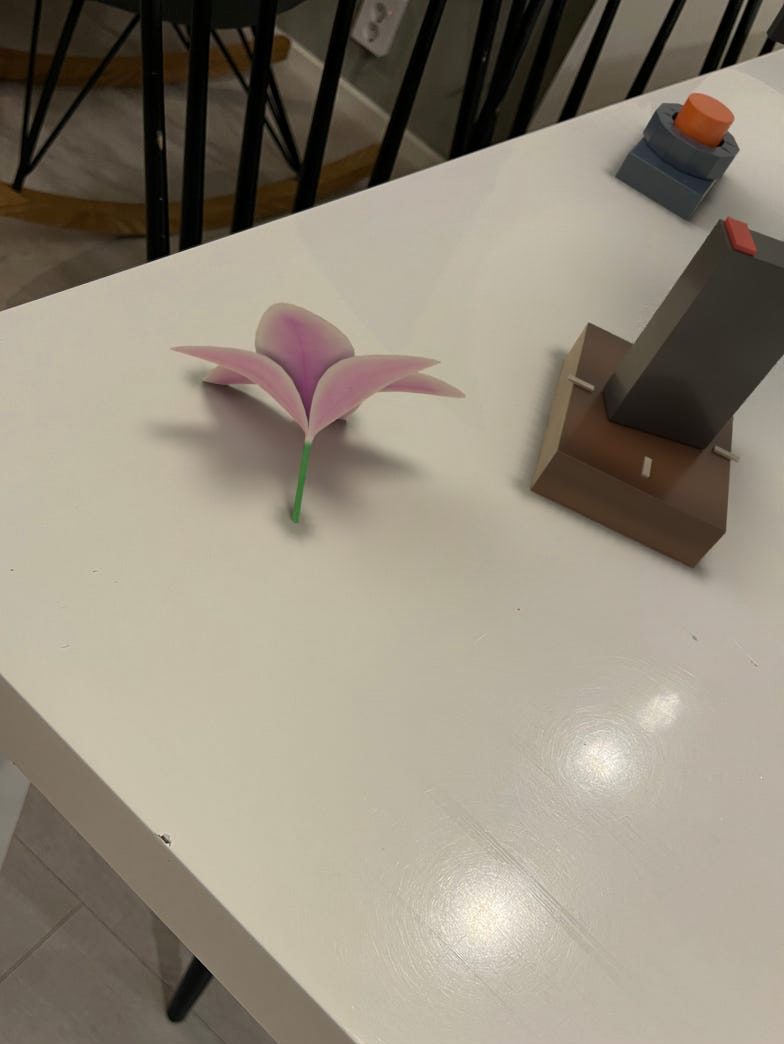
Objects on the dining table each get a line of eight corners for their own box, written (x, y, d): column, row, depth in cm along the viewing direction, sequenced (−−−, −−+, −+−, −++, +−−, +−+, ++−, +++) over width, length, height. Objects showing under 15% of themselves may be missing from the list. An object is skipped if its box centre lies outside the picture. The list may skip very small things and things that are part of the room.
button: (710, 155, 76) (728, 127, 75) (667, 128, 77) (683, 101, 75) (722, 139, 79) (739, 113, 77) (679, 114, 79) (696, 87, 77)
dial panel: (696, 575, 54) (735, 533, 52) (521, 490, 54) (552, 445, 51) (708, 435, 62) (742, 393, 59) (556, 361, 61) (584, 316, 59)
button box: (687, 226, 77) (721, 175, 74) (609, 178, 77) (640, 125, 74) (720, 180, 83) (752, 132, 80) (647, 136, 84) (677, 87, 81)
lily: (447, 512, 52) (489, 307, 49) (398, 587, 42) (447, 333, 38) (214, 461, 55) (237, 262, 51) (113, 519, 44) (132, 274, 40)
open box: (696, 417, 57) (828, 251, 49) (704, 450, 55) (843, 283, 47) (602, 388, 56) (722, 213, 48) (608, 420, 54) (733, 245, 46)
